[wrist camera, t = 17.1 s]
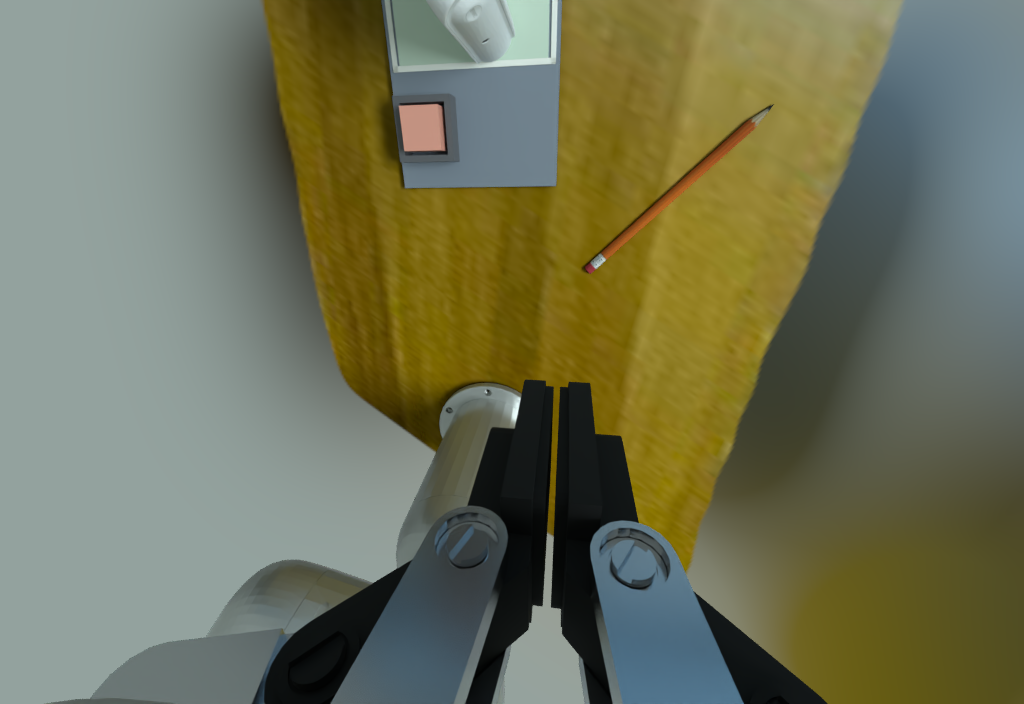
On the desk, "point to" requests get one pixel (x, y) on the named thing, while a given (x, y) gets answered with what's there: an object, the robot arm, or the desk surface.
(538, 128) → the activity board
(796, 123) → the desk surface
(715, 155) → the pencil
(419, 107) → the button
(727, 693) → the robot arm
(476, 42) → the photo printer
